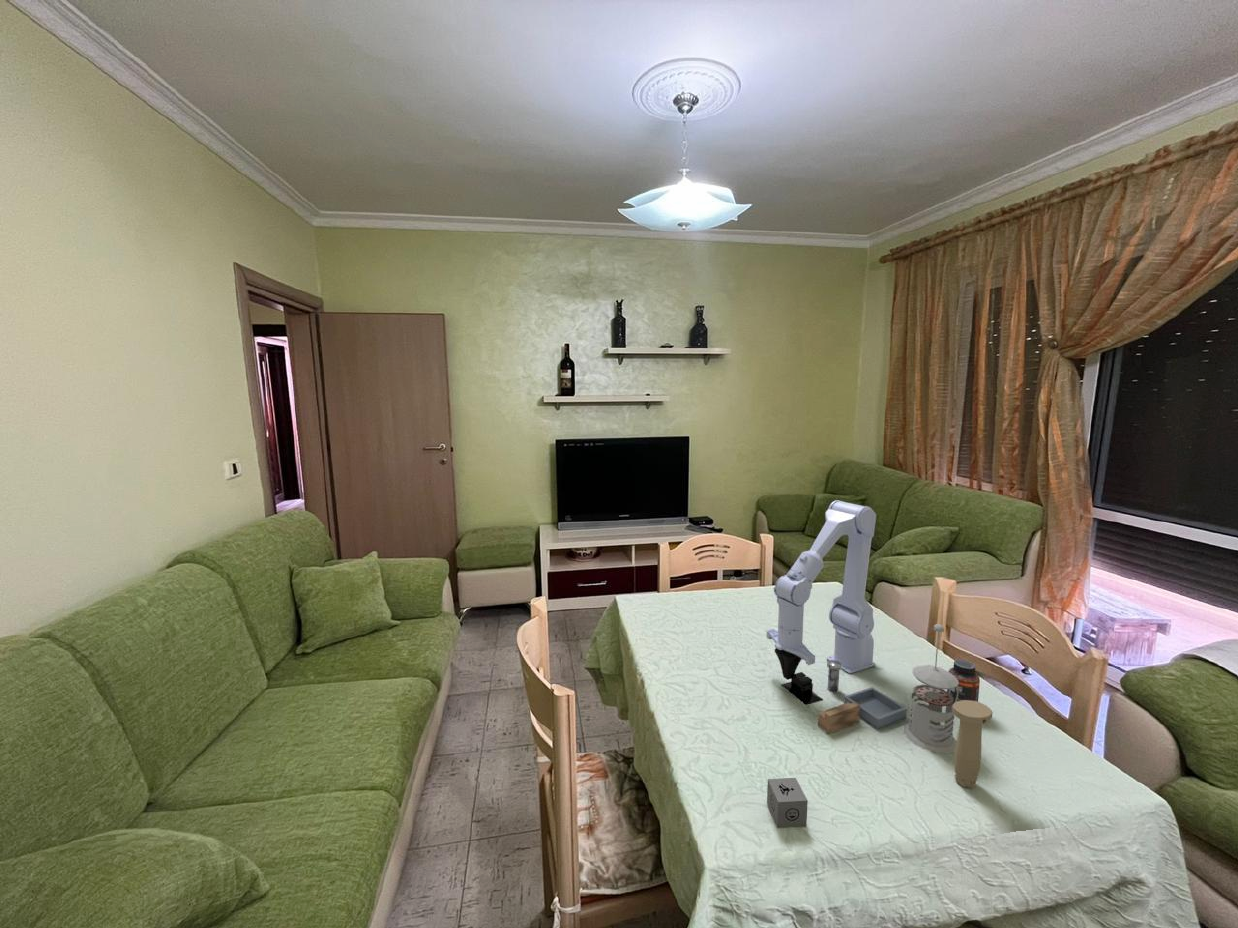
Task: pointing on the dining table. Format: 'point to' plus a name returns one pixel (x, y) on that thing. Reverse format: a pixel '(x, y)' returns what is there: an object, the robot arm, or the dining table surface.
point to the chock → (839, 717)
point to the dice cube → (787, 803)
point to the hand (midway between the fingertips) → (788, 677)
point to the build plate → (802, 688)
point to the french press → (932, 708)
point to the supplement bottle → (965, 681)
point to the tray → (877, 708)
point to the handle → (969, 740)
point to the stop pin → (833, 675)
